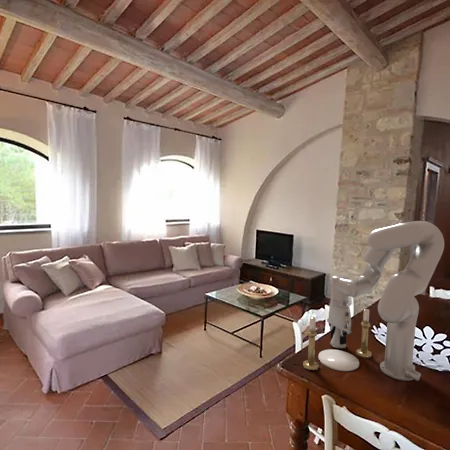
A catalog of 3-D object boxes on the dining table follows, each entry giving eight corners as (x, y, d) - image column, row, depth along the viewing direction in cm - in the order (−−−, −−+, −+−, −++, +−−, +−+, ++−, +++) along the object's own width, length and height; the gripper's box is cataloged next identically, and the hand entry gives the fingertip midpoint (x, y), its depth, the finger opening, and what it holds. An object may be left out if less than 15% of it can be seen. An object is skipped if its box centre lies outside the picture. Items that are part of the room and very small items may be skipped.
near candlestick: (321, 369, 125) (323, 319, 123) (309, 372, 122) (311, 321, 121) (312, 361, 130) (314, 314, 129) (300, 364, 128) (301, 316, 126)
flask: (347, 349, 140) (348, 327, 140) (330, 348, 142) (331, 326, 141) (345, 342, 148) (345, 321, 147) (328, 341, 149) (329, 320, 148)
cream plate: (368, 366, 127) (368, 364, 127) (336, 374, 121) (336, 372, 121) (339, 348, 142) (339, 347, 142) (310, 354, 136) (310, 353, 136)
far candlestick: (374, 356, 135) (377, 311, 133) (363, 359, 133) (366, 313, 131) (363, 350, 141) (366, 306, 139) (353, 352, 139) (355, 308, 137)
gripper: (360, 307, 137) (358, 348, 138) (333, 296, 152) (331, 332, 154) (346, 309, 134) (345, 351, 135) (320, 298, 150) (319, 335, 151)
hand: (338, 340), depth 145 cm, fingers closed on flask, 5 cm apart
